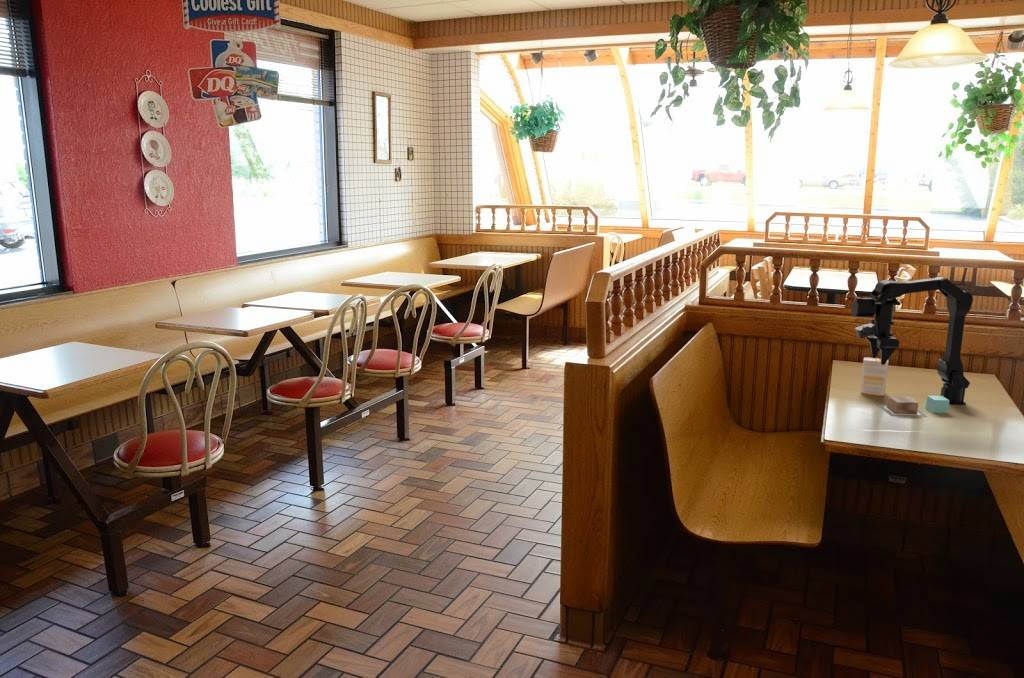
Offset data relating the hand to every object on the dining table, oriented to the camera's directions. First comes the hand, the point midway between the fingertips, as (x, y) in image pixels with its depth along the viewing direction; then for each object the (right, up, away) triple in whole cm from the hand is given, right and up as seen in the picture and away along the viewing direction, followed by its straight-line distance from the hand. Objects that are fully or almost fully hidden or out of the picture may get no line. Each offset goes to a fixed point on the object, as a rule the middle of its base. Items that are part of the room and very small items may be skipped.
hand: (878, 361), depth 277 cm
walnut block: (+4, -16, -9) cm, 19 cm away
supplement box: (+3, -12, +11) cm, 17 cm away
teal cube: (+16, -17, -9) cm, 25 cm away
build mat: (+4, -17, -9) cm, 20 cm away
